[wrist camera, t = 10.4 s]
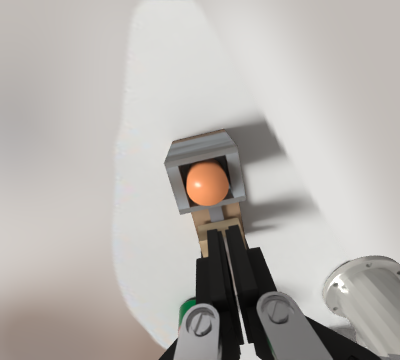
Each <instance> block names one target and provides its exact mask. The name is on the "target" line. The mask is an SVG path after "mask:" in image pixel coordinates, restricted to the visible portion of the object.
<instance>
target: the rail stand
mask: <svg viewBox="0 0 400 360" xmlns="http://www.w3.org/2000/svg"><path fill="white" fill-rule="evenodd" d="M210 158H212V159H215V160H216V161H218V162H219V163H220V164H221V165H222V167H223V169H224V172H225V174H226V177H227V179H228V183H229V189H228V193H227V195H226V196H225V198H224V199H223V200H222V201H221V202H219V203H217V204H215V205H211V206H203V205H199V204H197V203H195V202H194V201H193V200H192V199H191V198H190V197H189V195H188V193H187V173H188V169H189V167H190V166H191V164H192V163H193V162H197V161H202V160H206V159H210ZM164 164H165V167H166V171H167V174H168V177H169V180H170V183H171V187H172V190H173V193H174V196H175V199H176V203H177V206H178V209H179V212H180V215H181V214H186V213H190V212H191V214H192V217H193V221H194V224H195V228H196V231H197V235H198V238H199V233H198V226H200V225H205V224H209V223H214V222H219V221H223V220H228V219H233V218H238V219H239V222H240V225H241V228H242V231H243V234H244V229H243V223H242V218H241V212H240V207H239V202H241V201H246V196H245V190H244V184H243V178H242V172H241V166H240V160H239V154H238V148H237V145H236V144H235V143H234V141H233V140H232V139H231V138H230V136H229V135H228V134H227V133H226V131H225V130H224V129H222V130H218V131H214V132H210V133H205V134H201V135H197V136H193V137H189V138H185V139H180V140H176V141H173V142H172V144H171V147H170V149H169V152H168V155H167V157H166V160H165V162H164ZM244 240H245V245H246V249H249V247H248V244H247V241H246V238H245V234H244ZM201 258H203V254H202V251H201Z"/></svg>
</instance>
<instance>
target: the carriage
mask: <svg viewBox="0 0 400 360" xmlns="http://www.w3.org/2000/svg"><path fill="white" fill-rule="evenodd" d="M237 224H238V225H239V228H240V232H241V235H242V238H243V241H244V245H245V240H244V234H243V231H242V228H241V225H240V222H239V219H238V218H233V219H228V220H223V221H219V222H214V223H209V224H205V225H200V226H198V233H199V244H200V247H201V251H202V254H203V257H208V244H207V230H212V229H217V230H218V231H222V235H223V239H224V243H225V248H226V252H227V256H228V261H229V265H230V269H231V274H232V279H233V285H234V290H235V295H237V292H236V287H235V282H234V276H233V271H232V266H231V261H230V255H229V250H228V245H227V239H226V234H225V230H226V229H229V228H228V226H232V225H237ZM245 248H246V245H245Z"/></svg>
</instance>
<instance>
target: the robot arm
mask: <svg viewBox="0 0 400 360" xmlns="http://www.w3.org/2000/svg"><path fill="white" fill-rule="evenodd" d="M228 228H229V229H226V230H225V234H226V239H227V245H228V250H229V255H230V261H231V266H232V271H233V276H234V282H235V287H236V292H237V296H238V301H239V305H240V309H241V314H242V318H243V322H244V327H245V331H246V336H247V340H248V344H250V343H254V347H255V351H256V356H258V357H259V358H260V359H262V360H400V264H399V263H397V262H396V261H394V260H393V259H391V258H388V257H384V256H366V257H361V258H358V259H354V260H352V261H350V262H348V263H346V264H344V265H342V266H341V267H339V268H338V269H337V270H336V271H334V272H333V273H332V274H331V276H330V277H329V278H328V280H327V281H326V283H325V285H324V288H323V300H324V302H325V304H326V305H327V307H328V308H329V310H330V311H332V312H333V313H334V314H336V315H338V316H341V317H345V318H347V319H348V320H349V322H350V323H351V325H352V326H353V328H354V329H355V331H356V336H355V338H356V341H357V343H358V344H357V343H355V342H353V341H351V340H350V339H348V338H346V337H344V336H342V335H340V334H338V333H337V332H335V331H333V330H331V329H329V328H327V327H325V326H323V325H322V324H320V323H318V322H316V321H314V320H312V319H310V318H309V317H307V316H305V315H304V314H303V313H302V311H301V310H300V308H299V307H298V305H297V304H296V302H295V301H294V300H293V299H292V298H291V297H290V296H288V295H287V294H284V293H282V292H278V291H277V289H276V286H275V284H274V281H273V279H272V276H271V274H270V271H269V269H268V266H267V264H266V261H265V259H264V256H263V254H262V251H261V249H260V247H257V248H251V249H246V248H245V245H244V241H243V238H242V235H241V232H240V228H239V225H238V224H237V225H232V226H228ZM207 244H208V257H203V258H198V259H197V260H196V305H195V306H193V307H192V308H190V309H189V310H188V311H187V312H186V314H185V315H184V317H183V320H182V323H181V328H180V333H179V337H178V338H177V339H176V340H175V341H174V343H173V344H172V345H171V346H170V347H169V348H168V349H167V351H166V352H165V353H164V354H163V355H162V356H161V357H160V359H159V360H239V359H240V355H241V352H240V346H239V345H243V344H244V340H243V334H242V329H241V323H240V318H239V312H238V307H237V301H236V296H235V290H234V285H233V279H232V274H231V269H230V265H229V261H228V256H227V252H226V248H225V243H224V239H223V235H222V231H218V230H217V229H212V230H207ZM364 347H367V349H366V348H364Z"/></svg>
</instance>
